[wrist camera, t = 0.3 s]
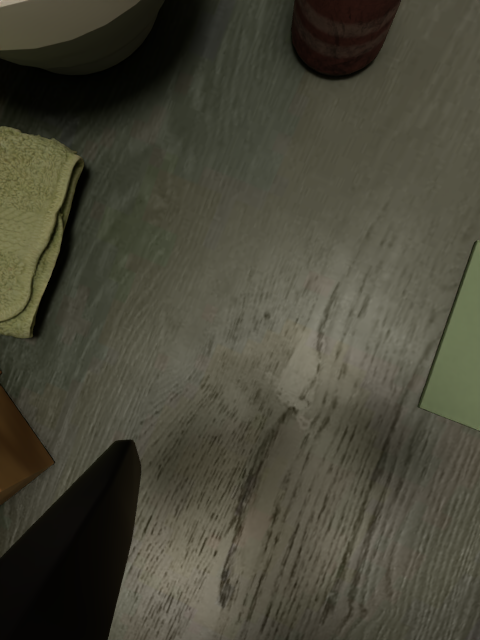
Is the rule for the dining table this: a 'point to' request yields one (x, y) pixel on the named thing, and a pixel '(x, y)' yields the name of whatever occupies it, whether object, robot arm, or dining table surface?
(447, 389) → the mat
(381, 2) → the can
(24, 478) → the stepped wooden block
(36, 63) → the bowl
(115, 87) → the dining table surface
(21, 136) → the washcloth
